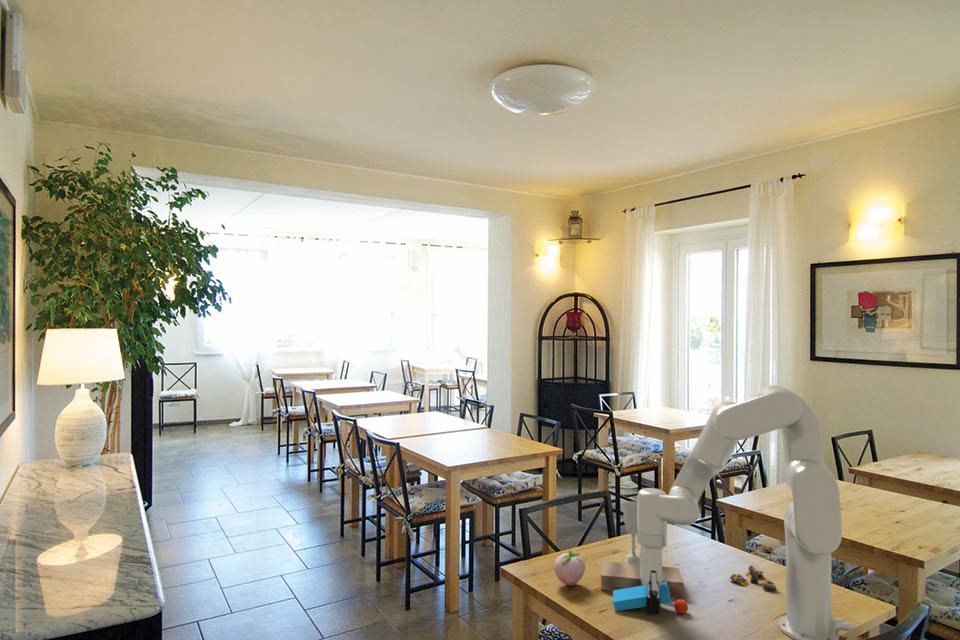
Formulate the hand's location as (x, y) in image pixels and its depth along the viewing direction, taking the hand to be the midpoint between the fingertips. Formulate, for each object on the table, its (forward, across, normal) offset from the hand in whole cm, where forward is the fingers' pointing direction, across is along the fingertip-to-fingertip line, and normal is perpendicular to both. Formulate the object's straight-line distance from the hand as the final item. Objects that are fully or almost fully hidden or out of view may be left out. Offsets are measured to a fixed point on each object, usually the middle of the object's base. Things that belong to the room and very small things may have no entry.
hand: (651, 605), depth 150 cm
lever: (+1, 0, 0) cm, 1 cm away
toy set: (+2, -22, +31) cm, 38 cm away
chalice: (+1, -30, -3) cm, 30 cm away
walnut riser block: (+1, -14, -2) cm, 14 cm away
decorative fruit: (+1, -9, -22) cm, 24 cm away
